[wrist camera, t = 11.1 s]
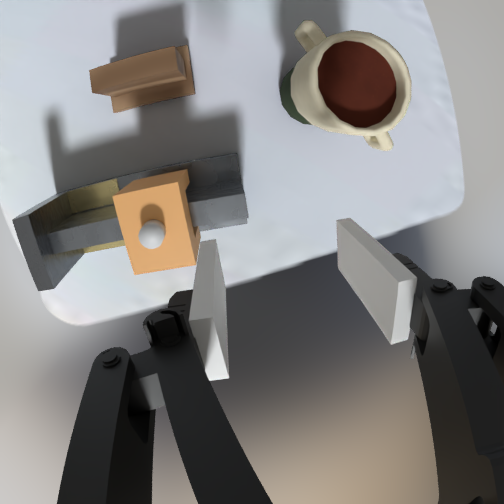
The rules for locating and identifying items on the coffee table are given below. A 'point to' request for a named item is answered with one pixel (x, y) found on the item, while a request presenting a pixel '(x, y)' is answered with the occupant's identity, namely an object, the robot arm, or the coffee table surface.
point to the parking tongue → (145, 78)
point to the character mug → (348, 84)
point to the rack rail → (106, 220)
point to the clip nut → (157, 223)
